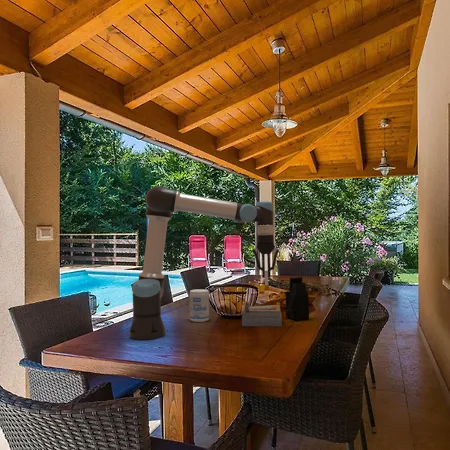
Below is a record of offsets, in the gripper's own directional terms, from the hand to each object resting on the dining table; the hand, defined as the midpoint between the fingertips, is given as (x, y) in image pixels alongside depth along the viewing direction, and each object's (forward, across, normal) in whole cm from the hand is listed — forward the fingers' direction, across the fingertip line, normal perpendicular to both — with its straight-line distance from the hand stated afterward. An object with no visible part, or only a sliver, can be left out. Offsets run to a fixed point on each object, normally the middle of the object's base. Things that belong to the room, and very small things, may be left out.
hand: (266, 284), depth 198 cm
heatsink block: (+18, -2, 0) cm, 18 cm away
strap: (+11, -2, 0) cm, 11 cm away
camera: (+18, +14, +12) cm, 26 cm away
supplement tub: (+18, -33, +6) cm, 39 cm away
